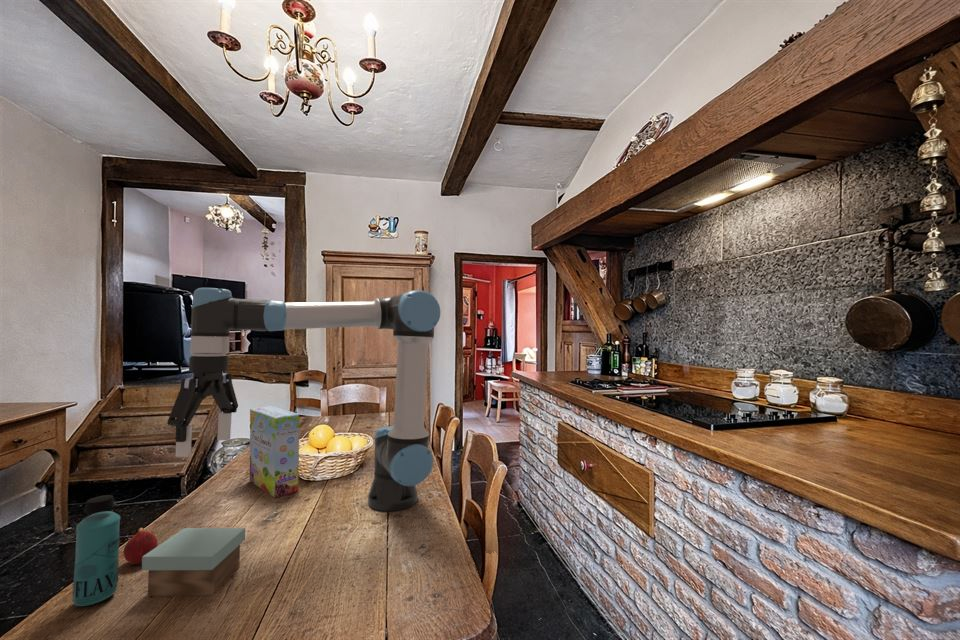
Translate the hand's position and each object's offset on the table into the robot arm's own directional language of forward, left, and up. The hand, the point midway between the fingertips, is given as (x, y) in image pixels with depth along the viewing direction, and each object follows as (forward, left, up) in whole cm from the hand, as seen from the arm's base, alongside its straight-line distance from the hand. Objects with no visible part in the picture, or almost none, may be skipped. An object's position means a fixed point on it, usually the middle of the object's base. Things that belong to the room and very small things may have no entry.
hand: (204, 447), depth 92 cm
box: (-4, +8, -26) cm, 27 cm away
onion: (+13, +1, -26) cm, 29 cm away
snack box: (+6, -45, -26) cm, 53 cm away
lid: (-4, +8, -20) cm, 22 cm away
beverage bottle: (+11, +14, -26) cm, 31 cm away
